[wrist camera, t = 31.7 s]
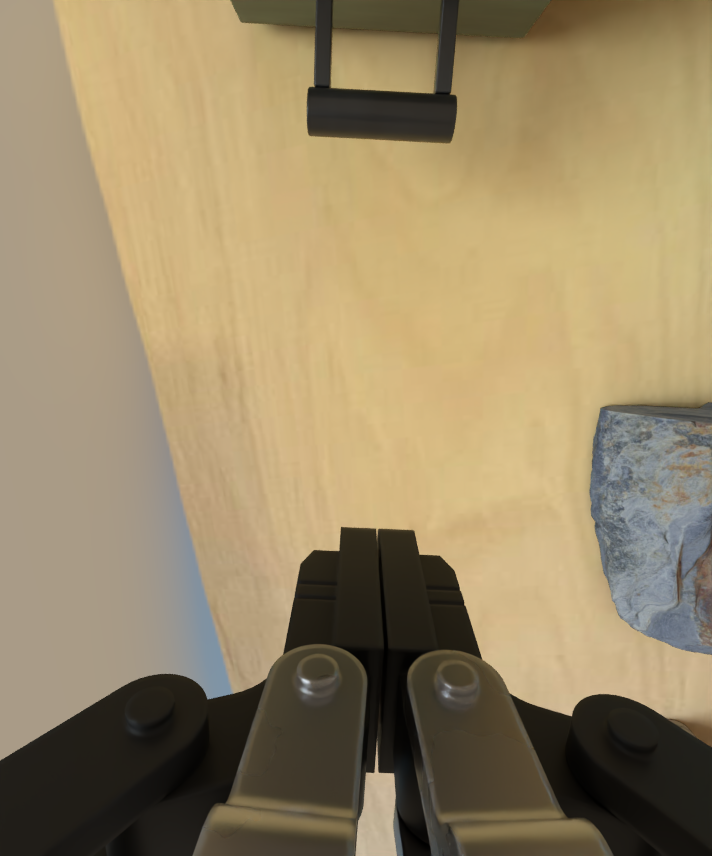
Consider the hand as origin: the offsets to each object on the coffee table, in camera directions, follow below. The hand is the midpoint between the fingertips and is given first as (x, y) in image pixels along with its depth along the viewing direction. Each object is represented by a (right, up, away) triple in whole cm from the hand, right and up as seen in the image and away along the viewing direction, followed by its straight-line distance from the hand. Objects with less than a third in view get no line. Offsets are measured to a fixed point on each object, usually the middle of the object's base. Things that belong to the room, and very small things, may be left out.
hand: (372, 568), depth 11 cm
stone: (+19, -3, +21) cm, 28 cm away
